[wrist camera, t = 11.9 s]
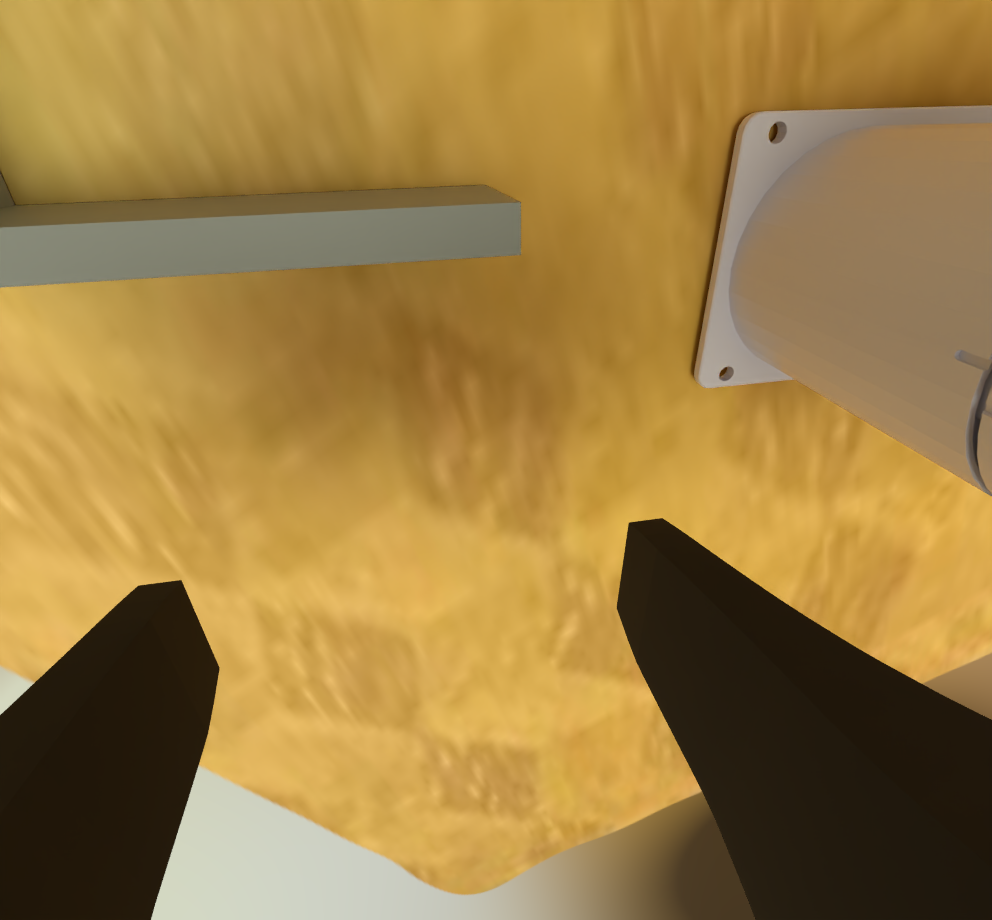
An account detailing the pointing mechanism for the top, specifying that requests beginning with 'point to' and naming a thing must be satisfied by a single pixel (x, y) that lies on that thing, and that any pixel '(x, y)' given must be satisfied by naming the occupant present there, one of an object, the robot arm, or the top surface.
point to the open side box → (251, 233)
